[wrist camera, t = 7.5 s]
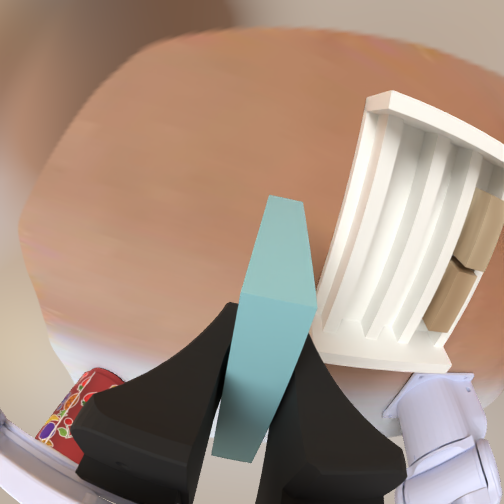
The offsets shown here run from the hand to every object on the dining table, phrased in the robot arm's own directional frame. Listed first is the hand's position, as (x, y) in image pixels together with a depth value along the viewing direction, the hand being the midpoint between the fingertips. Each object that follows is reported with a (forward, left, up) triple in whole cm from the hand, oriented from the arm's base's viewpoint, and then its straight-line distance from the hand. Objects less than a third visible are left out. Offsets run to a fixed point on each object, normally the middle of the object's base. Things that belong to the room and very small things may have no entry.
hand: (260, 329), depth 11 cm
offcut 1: (-13, +1, -10) cm, 17 cm away
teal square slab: (0, 0, -5) cm, 5 cm away
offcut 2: (-13, -5, -10) cm, 17 cm away
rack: (-10, -2, -10) cm, 15 cm away
